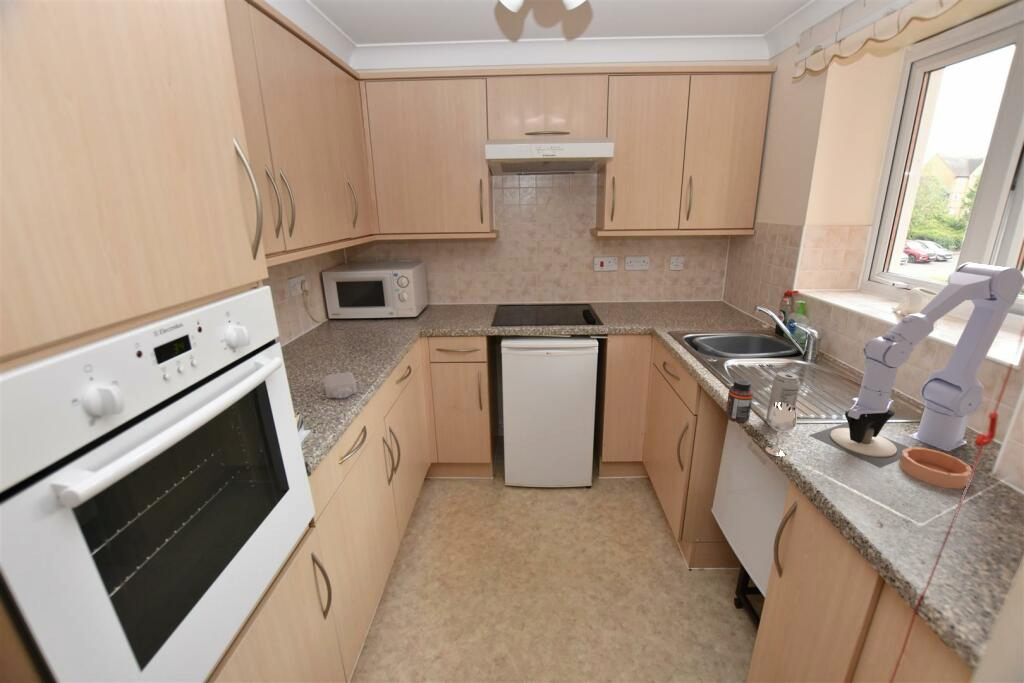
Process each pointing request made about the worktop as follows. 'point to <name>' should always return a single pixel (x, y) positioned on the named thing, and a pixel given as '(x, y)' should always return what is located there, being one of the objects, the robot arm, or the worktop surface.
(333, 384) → the charger
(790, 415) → the wineglass
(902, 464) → the bowl
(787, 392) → the energy drink can
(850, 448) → the lid
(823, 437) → the mat
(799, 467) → the worktop surface
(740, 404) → the supplement bottle
